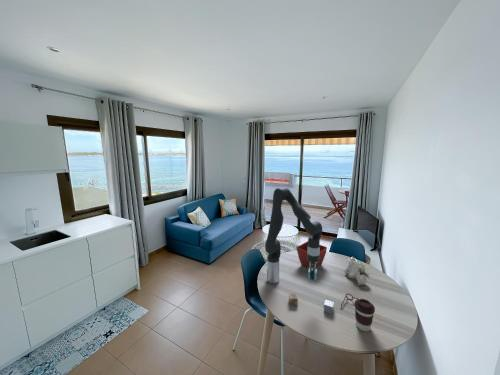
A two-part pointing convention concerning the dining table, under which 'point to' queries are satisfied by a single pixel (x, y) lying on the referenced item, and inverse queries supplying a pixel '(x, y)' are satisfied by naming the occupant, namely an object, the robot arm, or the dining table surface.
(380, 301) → the dining table surface
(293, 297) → the walnut block
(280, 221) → the robot arm
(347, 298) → the glasses
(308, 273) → the teal block
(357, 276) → the chinaware
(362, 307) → the coffee cup
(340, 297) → the dining table surface
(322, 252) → the plant pot
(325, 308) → the slate gray block
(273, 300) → the dining table surface
